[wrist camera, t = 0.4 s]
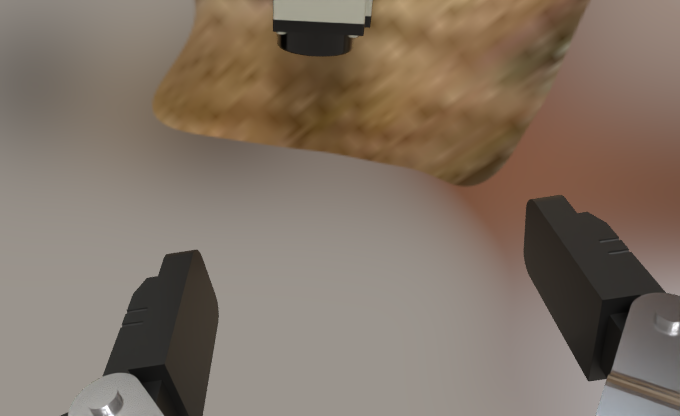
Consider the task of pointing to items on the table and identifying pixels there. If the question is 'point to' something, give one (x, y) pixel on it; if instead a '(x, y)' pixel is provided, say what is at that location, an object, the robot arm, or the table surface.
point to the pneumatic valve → (320, 25)
